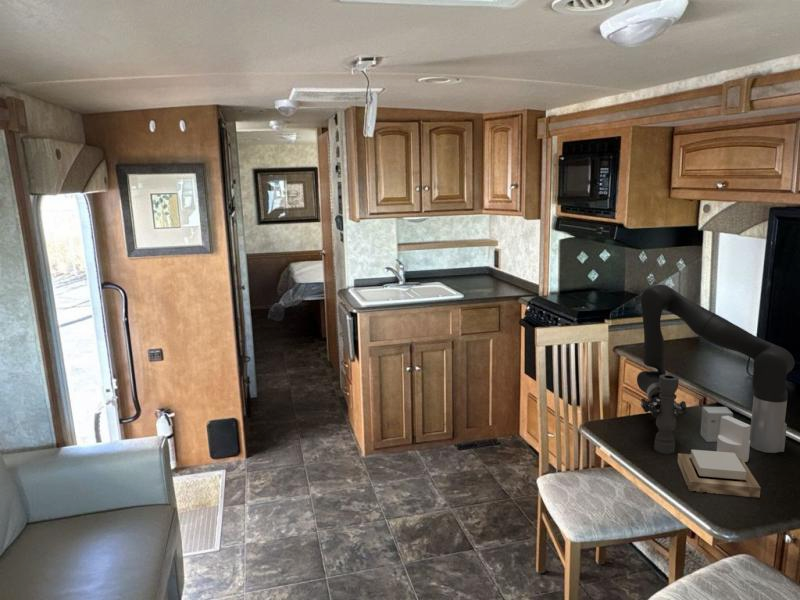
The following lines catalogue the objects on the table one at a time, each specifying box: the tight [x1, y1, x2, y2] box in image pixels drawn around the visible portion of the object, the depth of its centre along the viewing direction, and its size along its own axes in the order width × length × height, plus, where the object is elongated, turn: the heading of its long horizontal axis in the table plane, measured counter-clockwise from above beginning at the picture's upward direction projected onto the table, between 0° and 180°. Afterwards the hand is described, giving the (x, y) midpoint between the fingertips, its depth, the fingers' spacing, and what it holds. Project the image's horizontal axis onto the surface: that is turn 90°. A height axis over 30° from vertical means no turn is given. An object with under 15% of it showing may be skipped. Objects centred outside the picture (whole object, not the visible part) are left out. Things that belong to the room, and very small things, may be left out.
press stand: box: [677, 452, 762, 499], centre depth 179 cm, size 18×18×3 cm
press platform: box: [690, 449, 746, 480], centre depth 179 cm, size 12×12×2 cm
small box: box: [700, 406, 734, 443], centre depth 205 cm, size 8×6×10 cm
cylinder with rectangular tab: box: [716, 416, 751, 464], centre depth 192 cm, size 9×9×12 cm
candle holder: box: [653, 373, 680, 455], centre depth 197 cm, size 6×6×25 cm
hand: (668, 415), depth 194 cm, fingers open, 6 cm apart
